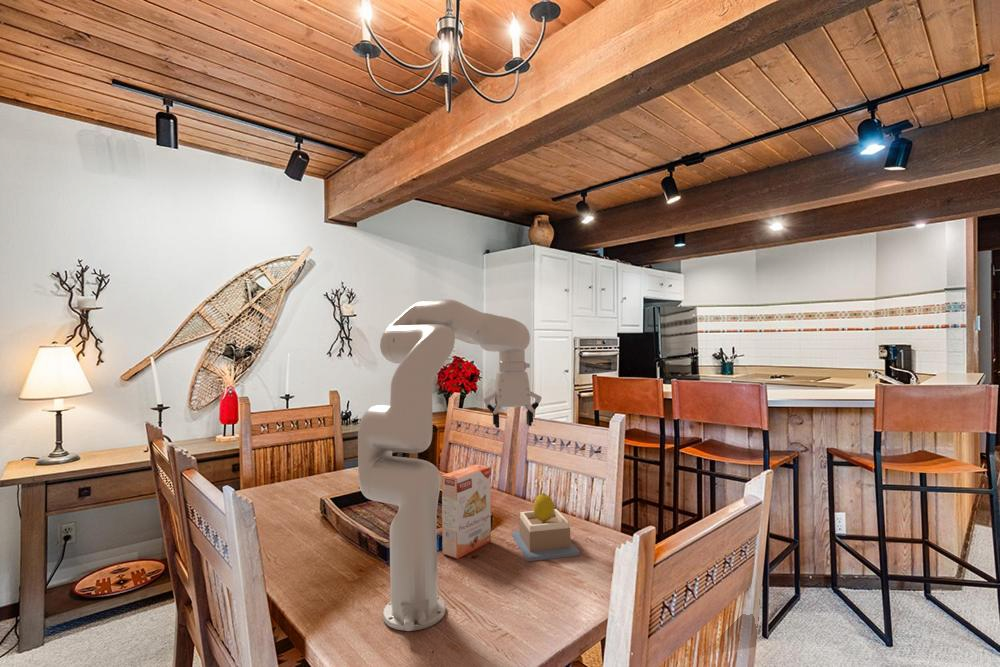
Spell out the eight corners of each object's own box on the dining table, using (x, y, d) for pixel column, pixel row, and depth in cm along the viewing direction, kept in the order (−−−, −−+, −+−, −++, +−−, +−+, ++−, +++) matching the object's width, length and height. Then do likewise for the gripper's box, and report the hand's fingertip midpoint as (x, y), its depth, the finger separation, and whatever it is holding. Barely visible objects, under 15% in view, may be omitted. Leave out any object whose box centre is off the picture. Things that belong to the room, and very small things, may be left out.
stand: (580, 555, 127) (579, 526, 127) (527, 561, 124) (526, 531, 124) (559, 530, 144) (558, 504, 144) (512, 535, 141) (511, 508, 141)
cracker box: (458, 560, 125) (457, 478, 126) (441, 554, 129) (440, 474, 129) (492, 541, 137) (491, 466, 137) (476, 536, 140) (474, 463, 140)
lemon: (553, 527, 131) (552, 497, 131) (532, 526, 132) (531, 496, 132) (555, 519, 136) (554, 490, 136) (535, 518, 137) (534, 489, 137)
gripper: (537, 366, 150) (538, 422, 150) (480, 367, 147) (482, 425, 147) (544, 367, 143) (545, 426, 143) (485, 369, 139) (486, 430, 139)
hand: (513, 426), depth 145 cm, fingers open, 9 cm apart
